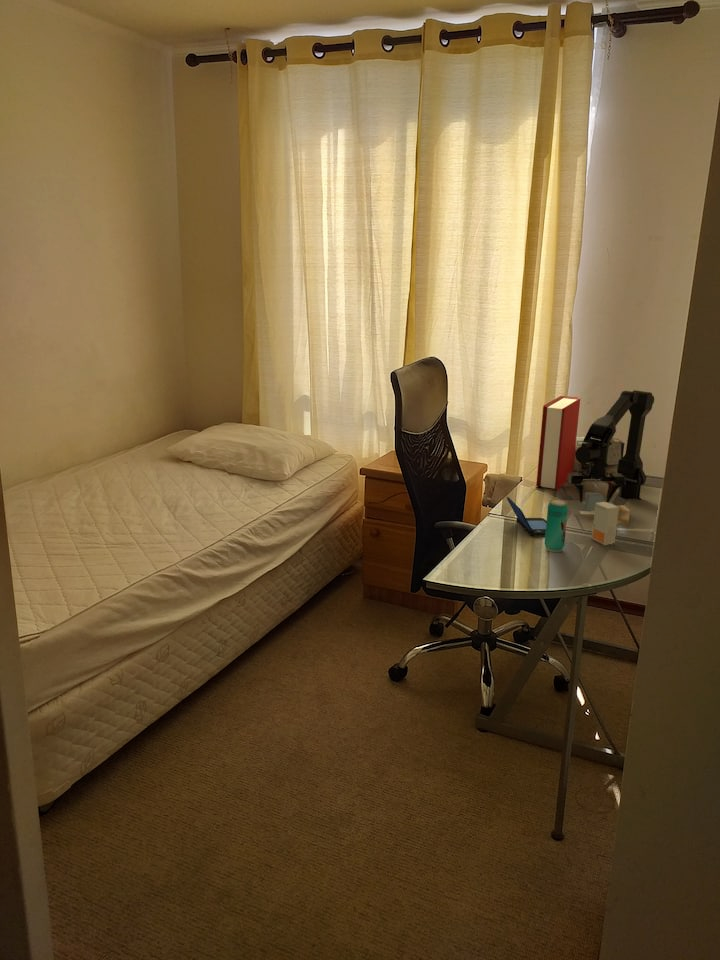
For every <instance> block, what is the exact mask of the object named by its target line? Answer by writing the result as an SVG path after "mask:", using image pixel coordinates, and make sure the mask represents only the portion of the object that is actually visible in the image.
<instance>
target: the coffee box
mask: <svg viewBox="0 0 720 960" xmlns="http://www.w3.org/2000/svg"><path fill="white" fill-rule="evenodd" d="M610 442H611V443H612V445H610V446H609V449H608V458H607V464H608V467H606V476H610V474H611V473H617V468H618V461H619V459H622V458H623V457H624V449H625V442H624V441H622V440H620V439H619V438H612V439H611V440H610ZM600 479H602V478H600ZM603 482H604V483H608V481H603Z"/></svg>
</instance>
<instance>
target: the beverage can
mask: <svg viewBox="0 0 720 960" xmlns="http://www.w3.org/2000/svg"><path fill="white" fill-rule="evenodd" d="M564 500H565V499H558V498H557V499H550V500H549V501H548V502H549V503H548V505H547V514H546V521H547V522H546V533H545V536H544V546H545V549H546V551H548V552H551V553H561V552H562V550H563V549H564V547H565V544H566V543H565V541H566V532H567V523H568V522H567V521H568V512H569V509H568V506H567V502H566V501H564Z"/></svg>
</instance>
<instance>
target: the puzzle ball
mask: <svg viewBox="0 0 720 960" xmlns="http://www.w3.org/2000/svg"><path fill="white" fill-rule="evenodd" d="M584 438H585V436H583V435H577V437H576V447H575V452H576V451H577V449H578V448H579V447H581V446H582V443H586V442H583V440H584ZM579 464H580V462H578V461H577V459H576V456H575V457H574V467H573V472H578V473H581V472H583V471H580V470H579ZM586 464H588V463H586Z"/></svg>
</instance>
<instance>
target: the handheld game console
mask: <svg viewBox="0 0 720 960" xmlns="http://www.w3.org/2000/svg"><path fill="white" fill-rule="evenodd" d="M506 500H507V502H508V503H509V505H510V508H511V509H512V511H513V514H514V515H515V516H516V522H517V523H518V524H519V525H520V526H521V527H522V528H523V529H524V530H525V532H527V534H528V535H529V537H545V533H546V522H547V519H545V518H543V517H526V516H525V514H524V512H523V510H522V509H521V508H520V507H519V506H518V505H517V504H516V503H515V502H514V501H513V500H512V499H511V498H510V497H509V496H507V497H506Z"/></svg>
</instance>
